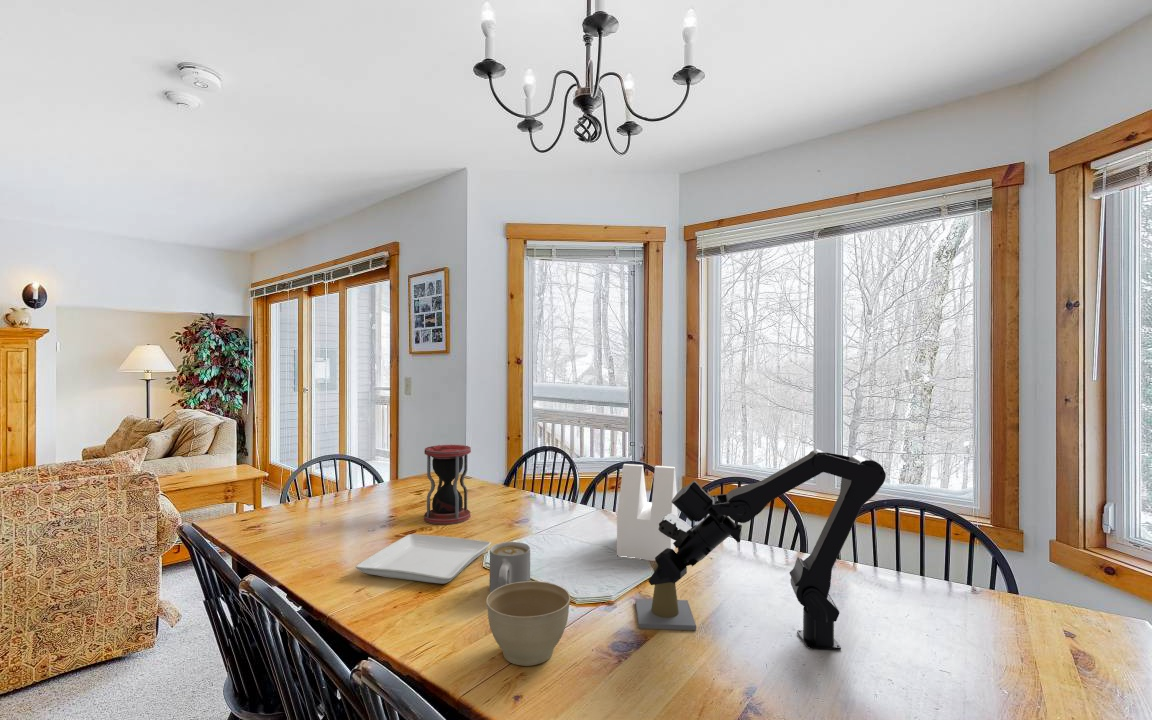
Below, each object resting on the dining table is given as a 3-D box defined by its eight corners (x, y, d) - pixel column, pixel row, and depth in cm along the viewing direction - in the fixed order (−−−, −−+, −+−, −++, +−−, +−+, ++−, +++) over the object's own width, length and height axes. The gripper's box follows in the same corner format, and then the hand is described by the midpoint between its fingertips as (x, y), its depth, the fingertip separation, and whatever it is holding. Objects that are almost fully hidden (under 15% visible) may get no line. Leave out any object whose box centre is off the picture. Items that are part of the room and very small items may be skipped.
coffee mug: (499, 578, 140) (500, 540, 140) (535, 583, 137) (536, 544, 137) (475, 600, 127) (476, 558, 127) (515, 606, 124) (515, 563, 124)
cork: (680, 618, 117) (680, 567, 117) (652, 617, 117) (652, 566, 117) (677, 605, 123) (677, 557, 123) (650, 604, 123) (650, 556, 123)
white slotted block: (670, 563, 152) (671, 474, 152) (616, 557, 156) (617, 470, 156) (677, 541, 170) (677, 461, 170) (628, 536, 174) (629, 458, 174)
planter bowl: (585, 645, 107) (585, 591, 107) (538, 688, 93) (539, 625, 93) (519, 625, 115) (519, 574, 115) (468, 661, 102) (468, 603, 102)
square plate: (352, 580, 139) (353, 565, 139) (409, 544, 166) (410, 532, 166) (449, 591, 133) (449, 576, 133) (492, 553, 159) (492, 539, 159)
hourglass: (457, 509, 204) (457, 442, 204) (478, 519, 191) (479, 448, 191) (416, 516, 193) (416, 447, 193) (436, 528, 181) (436, 453, 181)
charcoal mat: (696, 630, 114) (696, 625, 114) (638, 628, 114) (638, 623, 114) (687, 604, 126) (687, 600, 126) (635, 602, 126) (635, 598, 126)
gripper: (696, 495, 126) (653, 534, 132) (664, 514, 110) (616, 558, 116) (730, 535, 121) (683, 574, 127) (701, 561, 106) (649, 603, 112)
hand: (658, 575), depth 121 cm, fingers open, 9 cm apart
